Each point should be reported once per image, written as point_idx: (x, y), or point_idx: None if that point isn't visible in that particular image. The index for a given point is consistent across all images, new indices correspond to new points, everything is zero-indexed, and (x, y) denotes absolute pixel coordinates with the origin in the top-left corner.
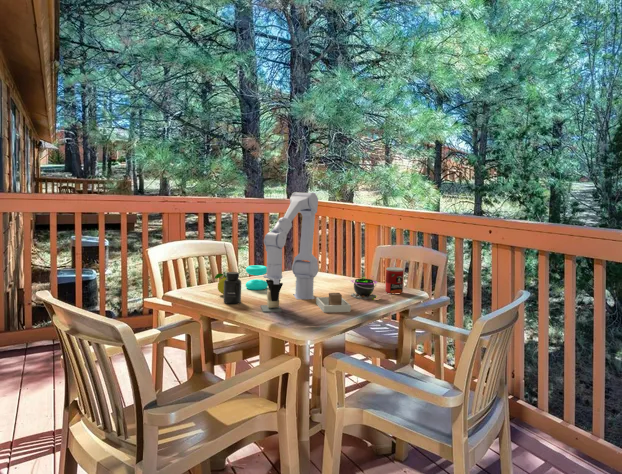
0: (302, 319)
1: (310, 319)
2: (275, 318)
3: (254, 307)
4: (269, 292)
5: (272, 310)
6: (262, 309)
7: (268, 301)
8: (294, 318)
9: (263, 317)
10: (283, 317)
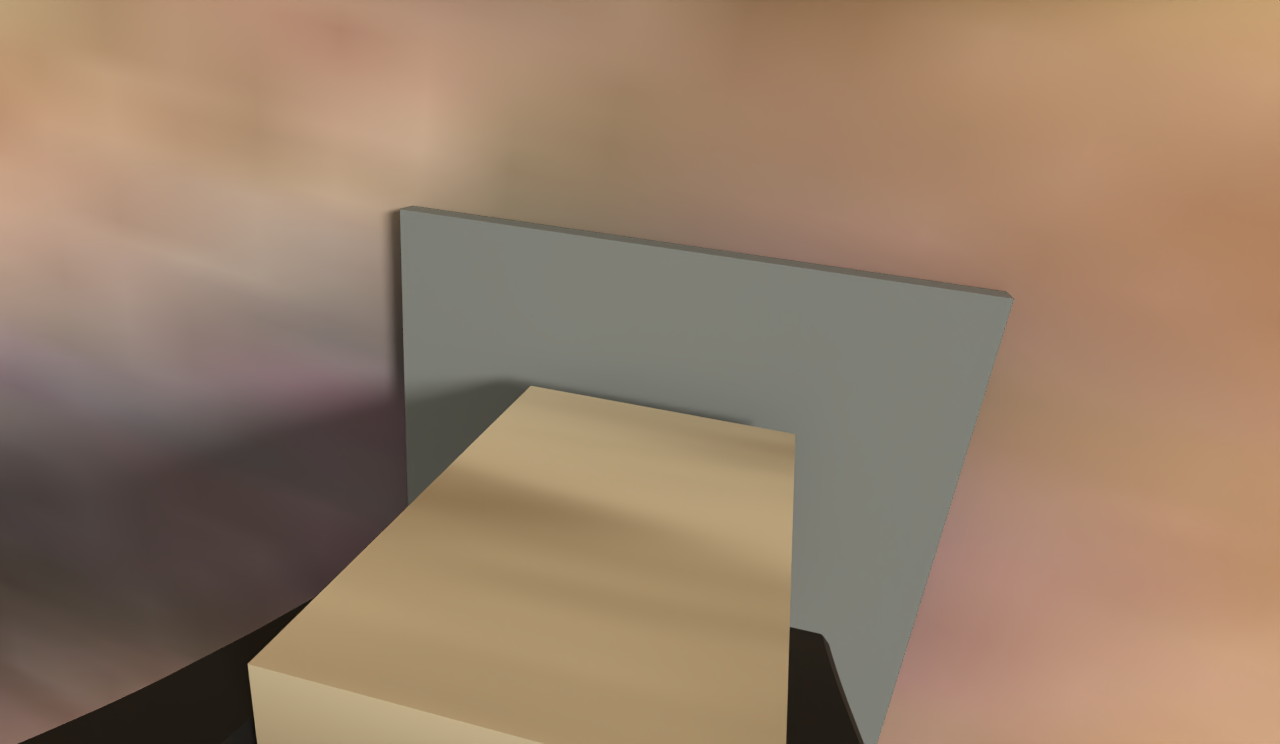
0: (12, 653)
1: (26, 731)
2: (3, 321)
3: (955, 90)
4: (280, 682)
5: (438, 422)
6: (557, 235)
7: (467, 455)
8: (44, 584)
9: (33, 117)
10: (76, 462)
